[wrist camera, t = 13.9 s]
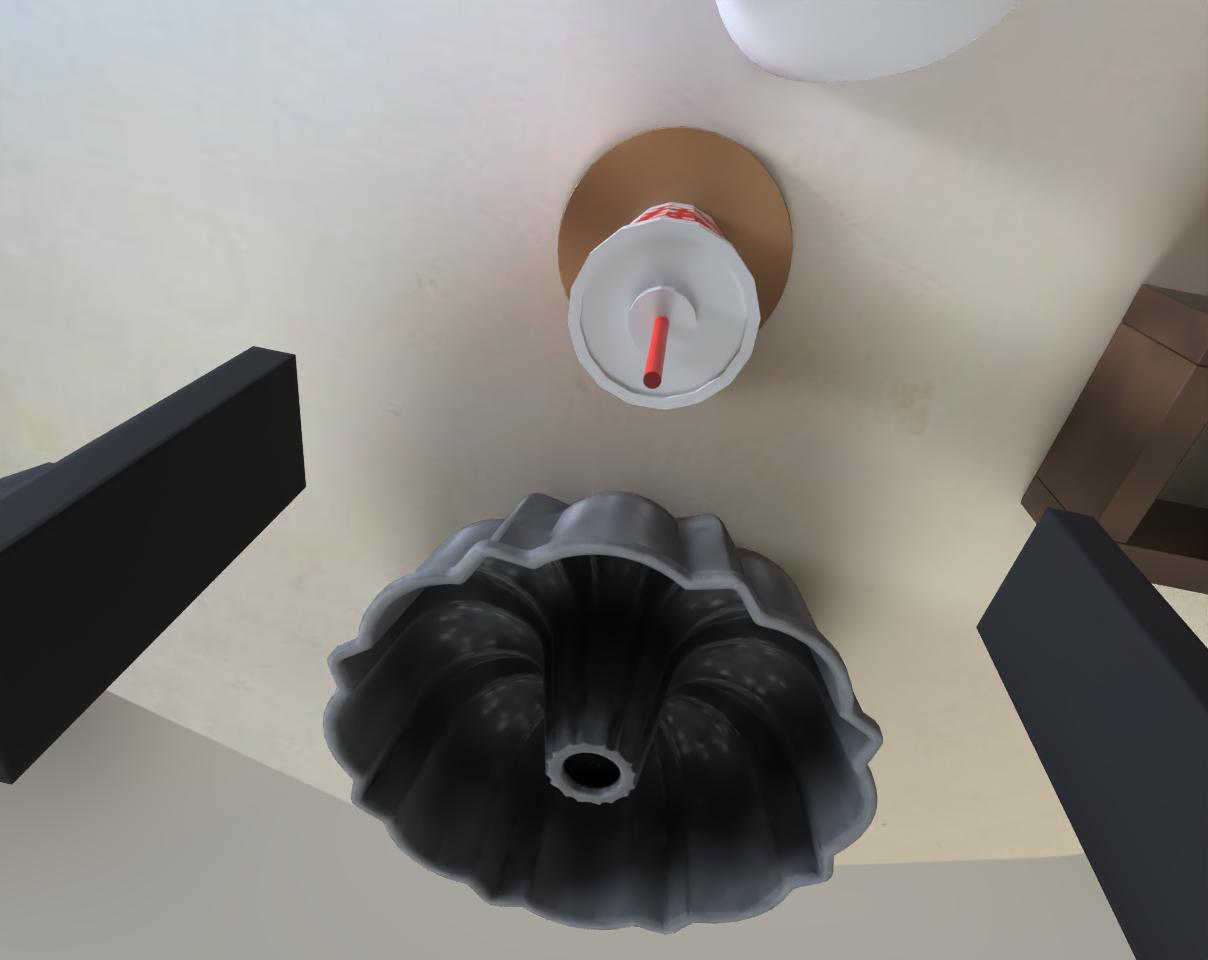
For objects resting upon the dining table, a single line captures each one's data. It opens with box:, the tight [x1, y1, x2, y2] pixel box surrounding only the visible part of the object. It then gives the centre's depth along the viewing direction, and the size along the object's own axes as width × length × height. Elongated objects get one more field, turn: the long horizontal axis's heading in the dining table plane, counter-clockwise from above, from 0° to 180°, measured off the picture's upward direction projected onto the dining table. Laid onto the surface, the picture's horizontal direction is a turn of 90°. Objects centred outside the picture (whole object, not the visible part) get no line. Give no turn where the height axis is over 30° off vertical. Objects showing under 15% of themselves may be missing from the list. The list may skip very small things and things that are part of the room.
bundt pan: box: [323, 492, 883, 934], centre depth 37 cm, size 26×26×10 cm
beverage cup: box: [567, 202, 761, 410], centre depth 24 cm, size 6×6×14 cm
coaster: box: [558, 127, 793, 330], centre depth 30 cm, size 10×10×1 cm
